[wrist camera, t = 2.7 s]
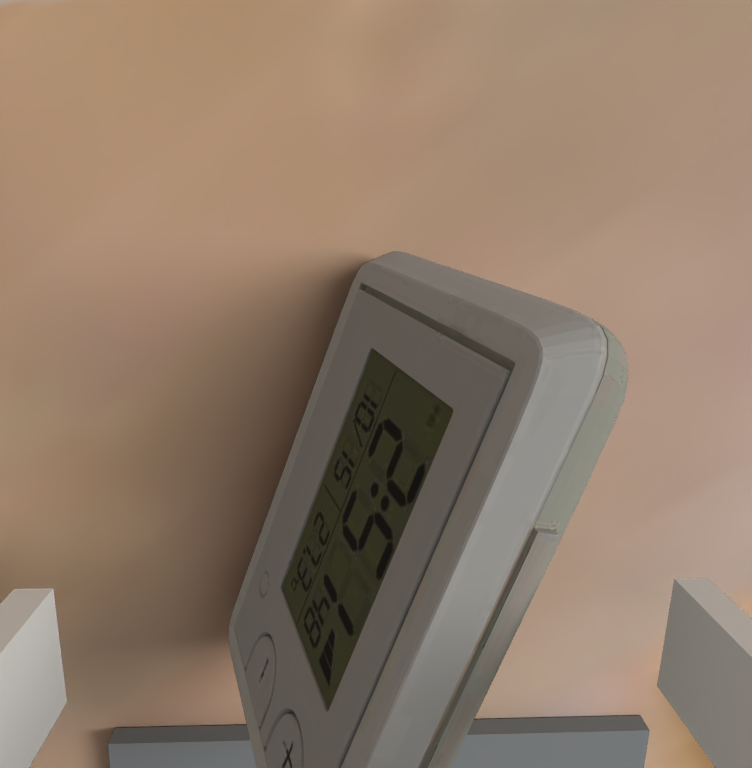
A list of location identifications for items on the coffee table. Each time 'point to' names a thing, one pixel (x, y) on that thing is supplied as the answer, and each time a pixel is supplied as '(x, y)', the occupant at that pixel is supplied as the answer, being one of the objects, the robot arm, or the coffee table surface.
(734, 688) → the robot arm
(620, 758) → the mat
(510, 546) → the digital clock
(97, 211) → the coffee table surface
